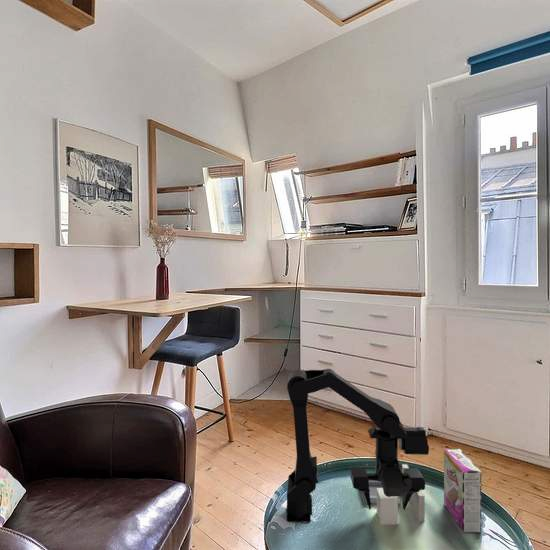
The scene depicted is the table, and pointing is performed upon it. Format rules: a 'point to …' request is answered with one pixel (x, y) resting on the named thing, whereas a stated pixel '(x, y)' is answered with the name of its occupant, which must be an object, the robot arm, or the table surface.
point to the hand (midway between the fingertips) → (386, 508)
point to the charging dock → (373, 493)
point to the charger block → (387, 508)
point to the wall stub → (417, 501)
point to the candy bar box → (462, 490)
